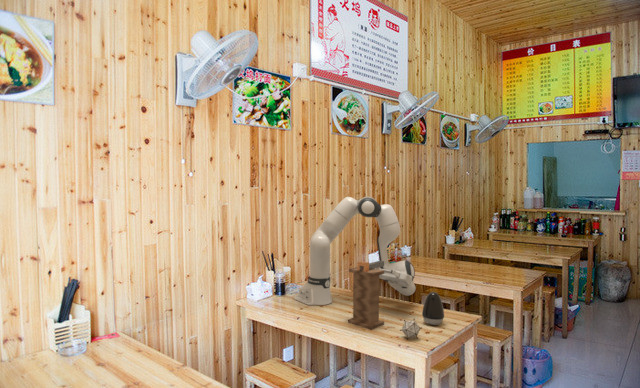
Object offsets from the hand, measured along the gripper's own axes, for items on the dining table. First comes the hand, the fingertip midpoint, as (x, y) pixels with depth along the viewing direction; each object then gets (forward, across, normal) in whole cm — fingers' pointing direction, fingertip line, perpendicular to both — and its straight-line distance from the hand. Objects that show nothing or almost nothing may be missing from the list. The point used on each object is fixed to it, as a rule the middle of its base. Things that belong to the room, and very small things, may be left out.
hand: (384, 270), depth 216 cm
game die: (+2, +25, +28) cm, 38 cm away
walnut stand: (+1, 0, +28) cm, 28 cm away
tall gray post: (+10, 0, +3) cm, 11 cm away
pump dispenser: (-19, +23, +16) cm, 34 cm away
